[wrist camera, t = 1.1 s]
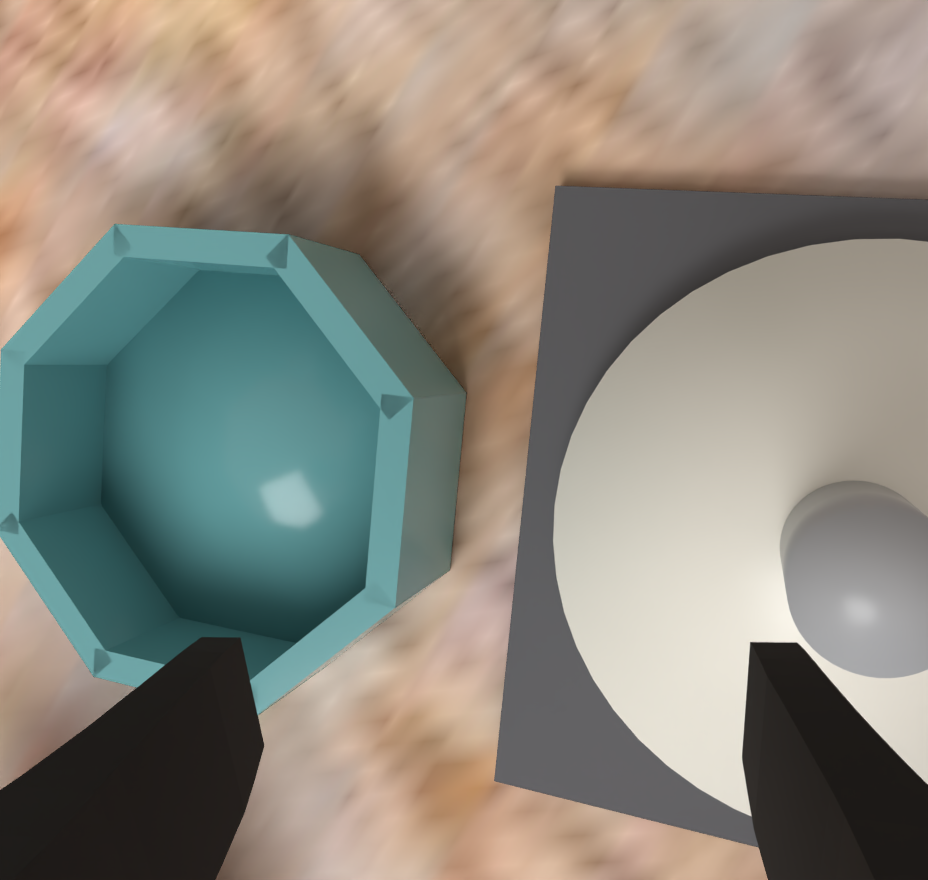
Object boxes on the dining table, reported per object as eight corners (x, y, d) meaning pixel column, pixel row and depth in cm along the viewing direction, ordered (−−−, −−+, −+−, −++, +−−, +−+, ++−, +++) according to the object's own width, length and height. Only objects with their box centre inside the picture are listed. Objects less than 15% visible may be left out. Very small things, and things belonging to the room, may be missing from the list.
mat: (1325, 219, 18) (1341, 215, 17) (1178, 940, 20) (1189, 955, 19) (559, 189, 23) (555, 185, 22) (499, 773, 24) (494, 780, 24)
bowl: (479, 262, 23) (427, 242, 20) (438, 690, 25) (383, 748, 21) (109, 238, 27) (4, 217, 23) (92, 613, 28) (-10, 651, 24)
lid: (1269, 262, 18) (1449, 226, 13) (1145, 900, 19) (1268, 1065, 15) (589, 228, 22) (548, 192, 17) (533, 755, 24) (482, 848, 19)
